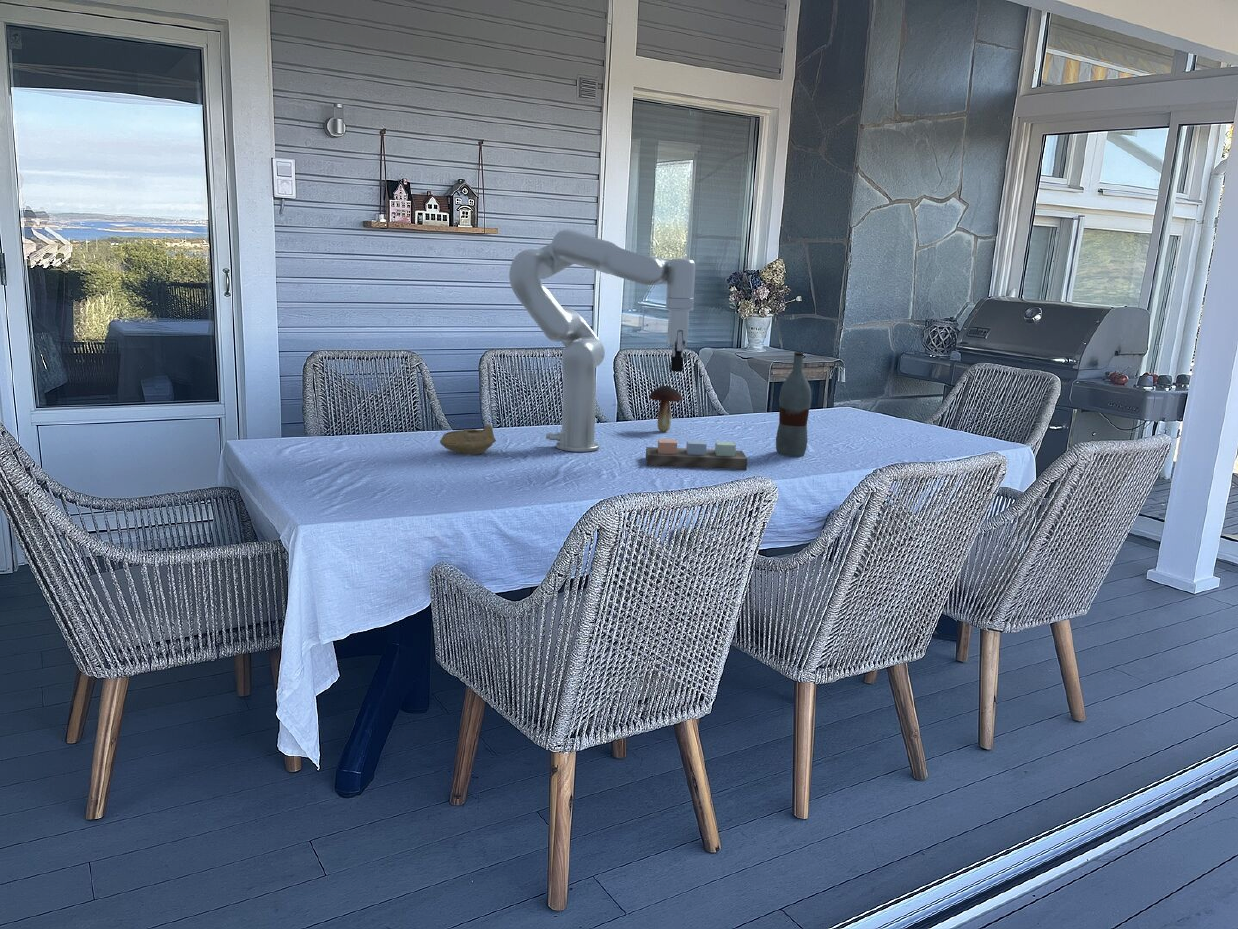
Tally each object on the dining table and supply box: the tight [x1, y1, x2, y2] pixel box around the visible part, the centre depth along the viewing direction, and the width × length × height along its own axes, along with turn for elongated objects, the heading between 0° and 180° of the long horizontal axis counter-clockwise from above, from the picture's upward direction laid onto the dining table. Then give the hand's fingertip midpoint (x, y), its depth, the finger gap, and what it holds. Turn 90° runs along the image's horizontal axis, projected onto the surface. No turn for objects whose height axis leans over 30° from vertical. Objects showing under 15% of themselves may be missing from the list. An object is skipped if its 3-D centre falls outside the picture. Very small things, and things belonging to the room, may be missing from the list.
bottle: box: [775, 351, 812, 457], centre depth 283 cm, size 9×9×30 cm
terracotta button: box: [657, 438, 678, 454], centre depth 266 cm, size 5×5×4 cm
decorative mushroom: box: [648, 385, 683, 433], centre depth 311 cm, size 11×11×15 cm
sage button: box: [714, 440, 737, 456], centre depth 266 cm, size 5×5×4 cm
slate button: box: [685, 439, 707, 455], centre depth 266 cm, size 5×5×4 cm
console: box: [645, 446, 748, 471], centre depth 267 cm, size 27×11×3 cm, turn 91°
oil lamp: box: [439, 424, 497, 456], centre depth 267 cm, size 11×15×8 cm
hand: (676, 371), depth 270 cm, fingers closed
